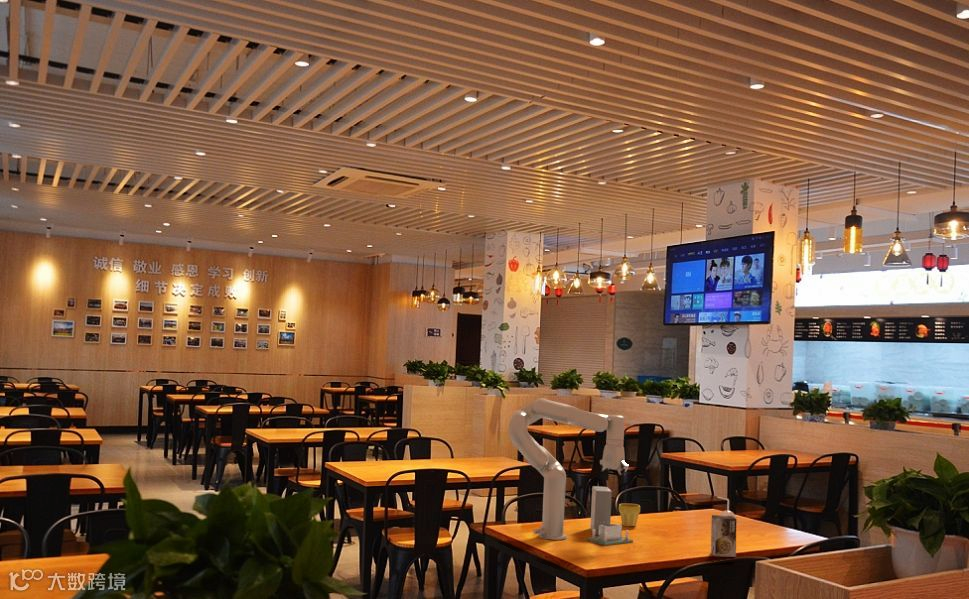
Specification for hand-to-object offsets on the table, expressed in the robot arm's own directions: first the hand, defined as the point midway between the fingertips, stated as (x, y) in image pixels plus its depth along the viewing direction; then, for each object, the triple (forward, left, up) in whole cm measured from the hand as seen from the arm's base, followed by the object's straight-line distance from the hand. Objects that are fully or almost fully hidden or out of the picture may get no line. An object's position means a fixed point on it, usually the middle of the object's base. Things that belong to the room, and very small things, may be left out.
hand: (612, 481), depth 379 cm
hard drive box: (+9, +16, -26) cm, 32 cm away
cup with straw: (+52, -22, -26) cm, 62 cm away
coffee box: (+27, -40, -26) cm, 55 cm away
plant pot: (+34, +22, -26) cm, 48 cm away
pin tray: (-1, -1, -26) cm, 26 cm away
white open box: (-1, -1, -25) cm, 25 cm away
